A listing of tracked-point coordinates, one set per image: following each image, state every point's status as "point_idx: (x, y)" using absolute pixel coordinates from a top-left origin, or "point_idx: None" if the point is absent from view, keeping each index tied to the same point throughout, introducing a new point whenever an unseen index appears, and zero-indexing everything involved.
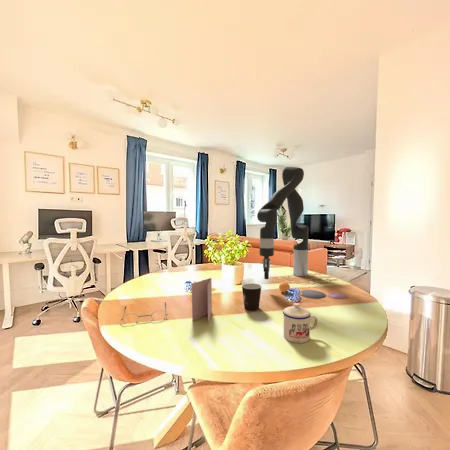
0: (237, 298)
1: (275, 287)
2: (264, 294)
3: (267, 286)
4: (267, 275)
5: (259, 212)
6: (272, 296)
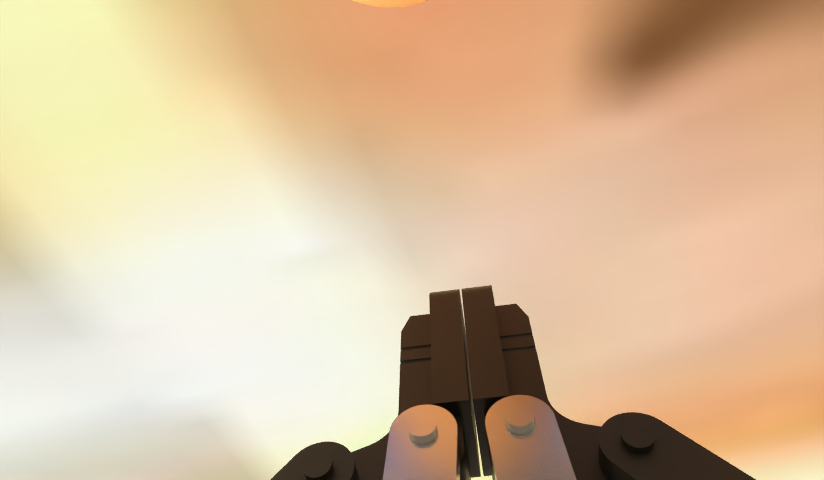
0: (810, 412)
1: (160, 98)
2: (602, 182)
3: (180, 227)
4: (536, 356)
5: None
6: (682, 45)
